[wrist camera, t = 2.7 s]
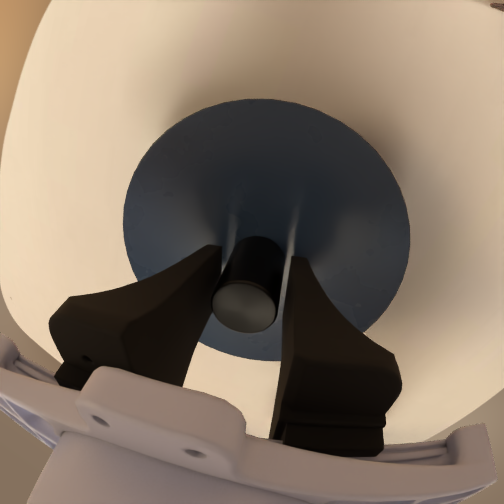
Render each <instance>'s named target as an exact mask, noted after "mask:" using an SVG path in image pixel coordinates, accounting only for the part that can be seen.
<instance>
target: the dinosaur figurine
mask: <svg viewBox="0 0 504 504" xmlns="http://www.w3.org/2000/svg"><path fill="white" fill-rule="evenodd" d="M490 6H491V7H493V8H496V9H498V10H501V11H503V12H504V4H498V3H490Z"/></svg>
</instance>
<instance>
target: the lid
mask: <svg viewBox="0 0 504 504" xmlns="http://www.w3.org/2000/svg"><path fill="white" fill-rule="evenodd" d="M123 231H124V241H125V246H126V251H127V255H128V258H129V261H130V264H131V267H132V270H133V272H134V274H135V276H136V278H137V280H138V281H141V280H143V279H146V278H148V277H150V276H153V275H155V274H157V273H159V272H161V271H163V270H165V269H167V268H168V267H170V266H172V265H174V264H176V263H178V262H179V261H181V260H183V259H184V258H186V257H187V256H189V255H191V254H192V253H194V252H196V251H197V250H199V249H200V248H202V247H204V246H205V245H207V244H210V245H217V246H222V274H221V276H220V279H219V281H218V283H217V285H216V287H215V289H214V292H213V294H212V296H211V308H212V311H213V312H212V314H211V316H210V318H209V320H208V322H207V324H206V326H205V328H204V330H203V332H202V335H201V337H200V339H199V342H201V343H203V344H204V345H206V346H209V347H211V348H213V349H216V350H218V351H221V352H224V353H227V354H230V355H233V356H237V357H242V358H247V359H253V360H261V361H281V350H282V315H283V308H284V301H285V294H286V288H287V282H288V275H289V269H290V262H291V256H297V257H305V258H307V259H308V261H309V263H310V266H311V268H312V270H313V272H314V274H315V276H316V278H317V280H318V282H319V283H320V285H321V287H322V288H323V290H324V292H325V293H326V295H327V296H328V298H329V299H330V300H331V302H332V303H333V304H334V306H335V307H336V308H337V309H338V310H339V311H340V313H341V314H342V315H343V316H344V317H345V318H346V319H347V320H348V321H349V322H350V323H351V324H352V325H353V326H355V327H356V328H357V329H358V330H359V331H360V332H362V333H363V332H365V331H366V330H367V329H368V328H369V327H370V326H371V325H372V324H374V323H375V322H376V321H377V320H378V319H379V317H380V316H381V315H382V314H383V313H384V311H385V310H386V309H387V308H388V306H389V305H390V303H391V302H392V300H393V298H394V297H395V295H396V293H397V291H398V289H399V287H400V285H401V282H402V280H403V277H404V274H405V270H406V267H407V263H408V257H409V250H410V225H409V219H408V213H407V208H406V204H405V201H404V198H403V196H402V193H401V190H400V187H399V185H398V183H397V182H396V180H395V178H394V176H393V174H392V172H391V170H390V169H389V167H388V166H387V165H386V163H385V162H384V160H383V159H382V158H381V157H380V155H379V154H378V153H377V151H376V150H375V149H374V148H373V147H372V146H371V145H370V144H369V143H368V142H367V141H366V140H364V139H363V138H362V137H361V136H360V135H359V134H358V133H356V132H355V131H354V130H352V129H351V128H349V127H348V126H347V125H345V124H344V123H342V122H341V121H339V120H337V119H335V118H333V117H331V116H329V115H327V114H325V113H323V112H321V111H319V110H316V109H313V108H310V107H307V106H304V105H301V104H297V103H293V102H287V101H281V100H274V99H244V100H237V101H230V102H224V103H221V104H217V105H214V106H211V107H208V108H205V109H202V110H200V111H198V112H196V113H194V114H192V115H190V116H188V117H186V118H184V119H182V120H181V121H179V122H178V123H177V124H175V125H174V126H172V127H171V128H170V129H168V130H167V131H166V132H165V133H164V134H163V135H162V136H161V137H159V138H158V139H157V140H156V141H155V142H154V143H153V144H152V146H151V147H150V148H149V150H148V151H147V152H146V154H145V155H144V156H143V158H142V159H141V161H140V163H139V165H138V166H137V168H136V170H135V172H134V174H133V176H132V179H131V182H130V185H129V187H128V190H127V194H126V199H125V204H124V213H123Z"/></svg>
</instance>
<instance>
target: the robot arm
mask: <svg viewBox="0 0 504 504" xmlns="http://www.w3.org/2000/svg"><path fill="white" fill-rule="evenodd" d="M221 274H222V246H217V245H210V244H207V245H205V246H204V247H202V248H200V249H199V250H197V251H196V252H194V253H192V254H191V255H189V256H187V257H186V258H184V259H183V260H181V261H179V262H178V263H176V264H174V265H172V266H170V267H168V268H167V269H165V270H163V271H161V272H159V273H157V274H155V275H153V276H150V277H148V278H146V279H143V280H141V281H138V282H135V283H132V284H129V285H126V286H123V287H120V288H116V289H112V290H108V291H104V292H99V293H93V294H86V295H79V296H70V297H69V298H68V299H67V300H66V301H65V302H64V303H63V304H62V305H61V306H60V308H59V309H58V310H57V311H56V312H55V313H54V314H53V315H52V316H51V317H50V320H49V330H50V334H51V336H52V339H53V341H54V343H55V345H56V347H57V349H58V351H59V353H60V355H61V356H62V358H63V360H64V362H63V364H62V365H61V366H60V368H59V369H58V371H57V372H56V373H54V372H52V371H50V370H48V369H46V368H44V367H42V366H41V365H38V364H37V363H35V362H33V361H31V360H30V359H28V358H26V357H24V356H23V355H21V354H20V352H19V350H18V348H17V346H16V345H15V343H14V342H13V341H12V340H11V339H10V338H9V337H7V336H5V335H4V334H2V333H1V332H0V410H2V411H3V412H4V413H5V414H7V415H8V416H9V417H10V418H11V419H13V420H14V421H15V422H16V423H18V424H19V425H20V426H21V427H23V428H24V429H25V430H27V431H28V432H29V433H31V434H32V435H34V436H35V437H36V438H38V439H39V440H40V441H42V442H43V443H44V444H46V445H47V446H49V447H50V448H52V449H53V452H52V454H51V456H50V458H49V460H48V461H47V463H46V465H45V467H44V469H43V471H42V473H41V475H40V477H39V479H38V481H37V483H36V485H35V486H34V489H33V490H32V493H31V495H30V497H29V499H28V501H27V503H26V504H457V503H459V502H461V501H463V500H465V499H467V498H469V497H471V496H473V495H474V494H476V493H478V492H479V491H481V490H483V489H485V488H487V487H488V486H490V485H491V484H493V483H495V482H496V481H497V473H496V468H495V463H494V458H493V454H492V449H491V445H490V441H489V437H488V433H487V429H486V426H485V423H480V424H475V425H469V426H464V427H460V428H458V429H456V430H455V431H453V432H452V433H451V434H450V435H449V436H448V437H447V438H446V439H444V440H437V441H428V442H419V443H407V444H392V445H384V439H383V428H384V427H385V426H386V417H385V414H386V412H387V411H388V410H389V409H390V407H391V406H392V405H393V403H394V402H395V401H396V399H397V398H398V396H399V394H400V392H401V390H402V380H401V375H400V371H399V367H398V364H397V362H396V359H395V356H394V354H393V353H391V352H389V351H388V350H386V349H385V348H383V347H381V346H380V345H378V344H377V343H375V342H374V341H372V340H371V339H369V338H368V337H367V336H366V335H364V334H363V333H362V332H360V331H359V330H358V329H357V328H356V327H355V326H353V325H352V324H351V323H350V322H349V321H348V320H347V319H346V318H345V317H344V316H343V315H342V314H341V313H340V311H339V310H338V309H337V308H336V307H335V306H334V304H333V303H332V302H331V300H330V299H329V298H328V296H327V295H326V293H325V292H324V290H323V288H322V287H321V285H320V283H319V282H318V280H317V278H316V276H315V274H314V272H313V270H312V268H311V266H310V263H309V261H308V259H307V258H305V257H297V256H291V262H290V269H289V275H288V282H287V288H286V294H285V301H284V308H283V315H282V350H281V367H280V374H279V380H278V387H277V393H276V399H275V405H274V411H273V417H272V423H271V428H270V434H269V439H265V438H258V437H255V436H252V435H248V434H246V433H245V431H246V421H245V419H244V417H243V415H242V412H241V411H240V410H239V409H237V408H236V407H234V406H233V405H231V404H230V403H229V402H227V401H226V400H224V399H221V398H218V397H215V396H213V395H210V394H207V393H204V392H200V391H195V390H191V389H187V388H183V384H184V380H185V377H186V374H187V371H188V367H189V364H190V361H191V358H192V355H193V353H194V350H195V348H196V345H197V343H198V341H199V339H200V337H201V335H202V332H203V330H204V328H205V326H206V324H207V322H208V320H209V318H210V316H211V314H212V312H213V311H212V308H211V296H212V294H213V292H214V289H215V287H216V285H217V283H218V281H219V279H220V276H221Z"/></svg>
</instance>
